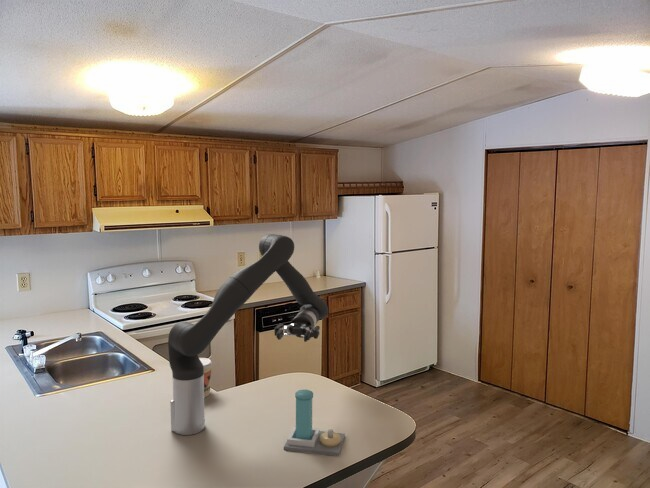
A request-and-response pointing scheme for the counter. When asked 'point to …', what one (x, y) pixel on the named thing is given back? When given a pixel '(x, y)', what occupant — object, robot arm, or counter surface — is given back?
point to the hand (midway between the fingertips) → (291, 337)
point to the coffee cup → (206, 375)
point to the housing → (316, 442)
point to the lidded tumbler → (304, 414)
